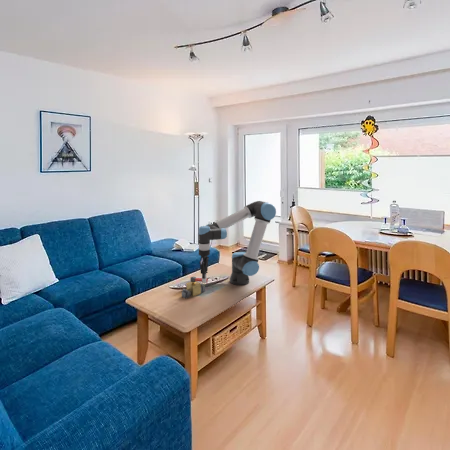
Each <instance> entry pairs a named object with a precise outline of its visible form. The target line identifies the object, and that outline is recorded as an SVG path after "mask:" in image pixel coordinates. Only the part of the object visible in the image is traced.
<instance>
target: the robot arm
mask: <svg viewBox="0 0 450 450" xmlns="http://www.w3.org/2000/svg"><path fill="white" fill-rule="evenodd" d="M276 215H277V209H276V207H275V205H274V204H272V203H270V202H268V201H267V202H266V201H262V200H257V201H253V202H251V203H249V204H247V205H245V206H243V208H242V209H240V210H238V211H236V212H233V213H232V214H230V215H228V216H225V217H224V218H222V219H220V220H217V221H216V222H213V223H211V224H210V223H208V224H207V223H206V225H203V226H199V228H198V244H197V245H198V255H199V256H200V260H199V266H200V267H199V268H200V274H201V278H202V282H201V284H203V283H204V284H206V283H207V282H206V278H207V274H208V271H209V270H208V269H209V256H210V254H211V250H210V249H211V241H215V240H217V241H219V240H225V239H226V238H227V237H228V230H227V229H228V228H230V227H232V226H235V225H236V224H238V223H240V222H242V221H245V220H246V219H251V218H253V217H254V221H255V223H254V225H253V229H252V232H251V235H250V239H249V243H248V245H247V249H246V252H245V251H239V252H238V251H237V252H234V253H232V254H231V274H230V277H229V283H230V284H233V285H235V286H245V285H248V284H249V283H250V277H253V276H255V275H256V274H257V273H258V272H259V270H260V265H259V263H258V262H259V261H260V259H259V257H258V256H259V252H260V250H261V245H262V242H263V240H264V237H265V233H266V230H267V226H268V225H269V224H271V223H270V222H271V220H273V219H274V218H275V217H276Z"/></svg>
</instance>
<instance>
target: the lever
mask: <svg viewBox="0 0 450 450" xmlns="http://www.w3.org/2000/svg"><path fill="white" fill-rule="evenodd" d="M208 279H209V278H207V277H206V283H207V282H208ZM189 280H190V282H196V281H197V282H199V283H202V277H197V276H190V279H189Z"/></svg>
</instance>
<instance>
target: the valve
mask: <svg viewBox="0 0 450 450" xmlns="http://www.w3.org/2000/svg"><path fill="white" fill-rule="evenodd" d="M185 284H186V288H182V291H181V298H183V299H190V298H191V297H196V296H199V295H201V294H202V293H205V292H206V285H205V284H203V283H202V282H200V281H196V282H191V281H189V282H186V283H185Z"/></svg>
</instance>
